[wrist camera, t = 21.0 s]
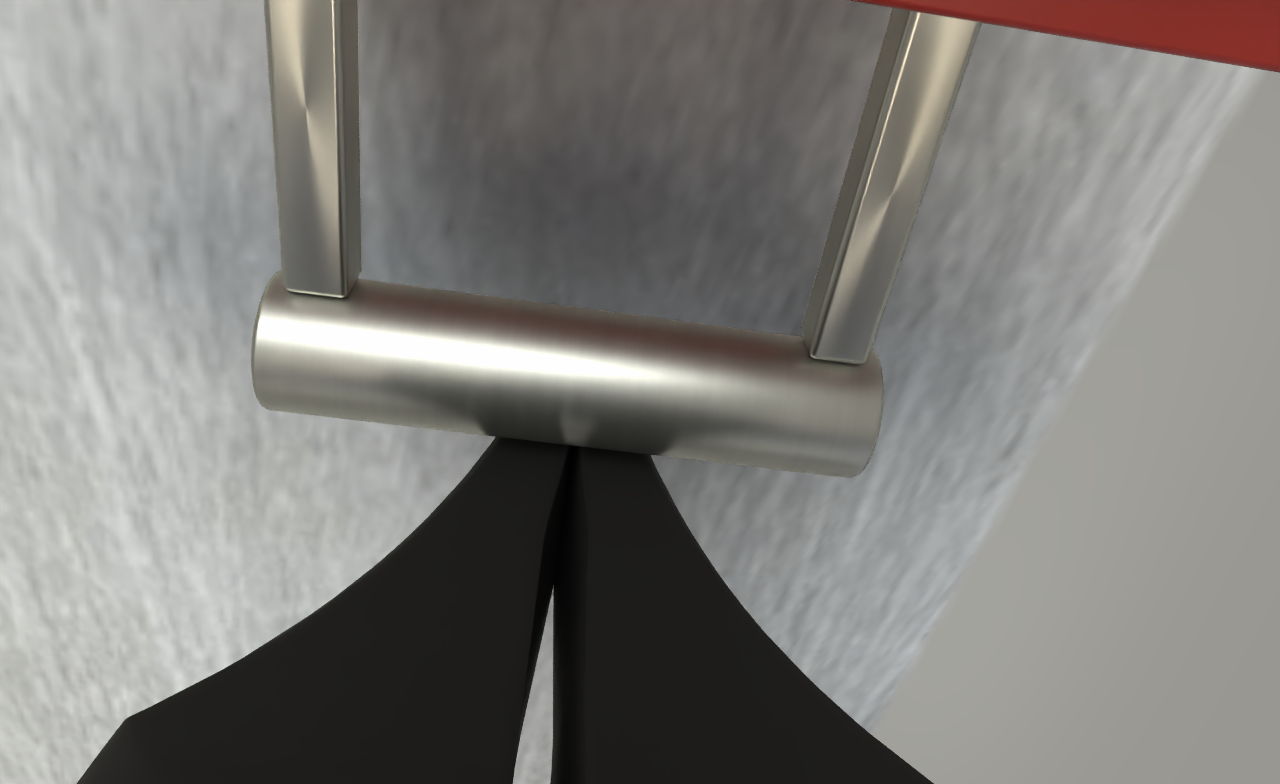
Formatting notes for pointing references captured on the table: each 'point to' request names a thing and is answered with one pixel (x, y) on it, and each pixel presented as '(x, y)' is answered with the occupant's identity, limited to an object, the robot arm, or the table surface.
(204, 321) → the table surface
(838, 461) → the drawer
